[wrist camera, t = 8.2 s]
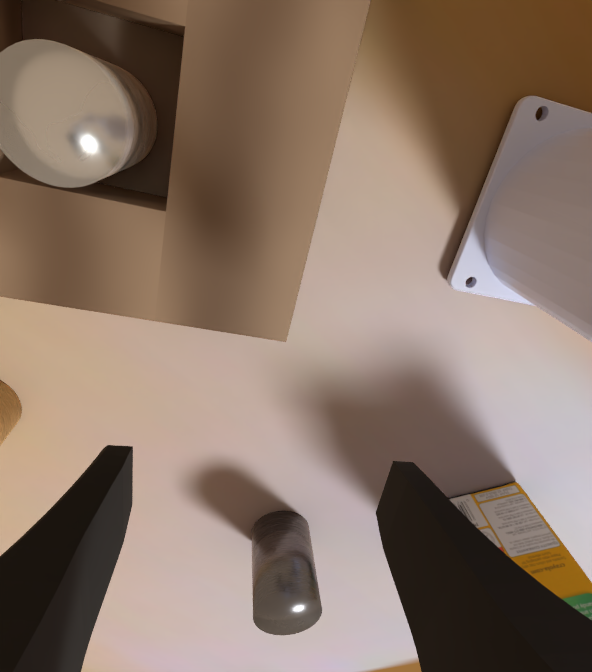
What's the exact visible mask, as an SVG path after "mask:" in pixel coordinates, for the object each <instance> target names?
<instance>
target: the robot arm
mask: <svg viewBox="0 0 592 672" xmlns="http://www.w3.org/2000/svg"><path fill="white" fill-rule="evenodd" d="M540 107H541V108H542V111H543V112H542V116H541V117H540V119H539V120H537V119H536V117H535V115H536V111H537V110H538V108H540ZM470 277H473V279H472V282H471V283H470V284H468V285H465V283H466V280H467V279H468V278H470ZM447 281H448V284H449V286H450V287H452V288H453V289H455V290H458V291H463V292H468V293H473V294H478V295H483V296H488V297H493V298H498V299H503V300H508V301H513V302H518V303H523V304H528V305H533V306H537V307H538V308H540V309H542V310H543V311H545V312H546V313H548V314H549V315H551V316H552V317H554V318H555V319H557V320H559V321H560V322H562V323H563V324H565V325H566V326H568V327H569V328H571V329H572V330H574V331H575V332H577V333H579V334H580V335H582V336H583V337H585V338H586V339H588V340H589V341H591V342H592V113H590V112H587V111H584V110H580V109H577V108H574V107H570V106H567V105H564V104H561V103H557V102H554V101H551V100H548V99H544V98H541V97H538V96H526V97H523V98H521V99H520V100H519V101H518V102H517V104H516V106H515V107H514V110H513V112H512V115H511V117H510V120H509V123H508V125H507V128H506V130H505V133H504V135H503V138H502V140H501V143H500V145H499V148H498V150H497V153H496V155H495V158H494V161H493V163H492V166H491V168H490V171H489V173H488V176H487V178H486V181H485V183H484V186H483V188H482V191H481V193H480V196H479V198H478V201H477V204H476V206H475V209H474V211H473V214H472V216H471V219H470V221H469V224H468V226H467V229H466V231H465V234H464V236H463V239H462V242H461V244H460V247H459V249H458V252H457V254H456V257H455V259H454V262H453V264H452V267H451V269H450V272H449V274H448V278H447ZM132 467H133V447H130V446H113V445H108V446H106V447H105V448H104V449H103V450H102V451H101V452H100V454H99V455H98V456H97V457H96V459H95V460H94V461H93V462H92V464H91V465H90V466H89V467H88V468H87V470H86V471H85V472H84V473H83V474H82V475H81V476H80V478H79V479H78V480H77V481H76V482H75V483H74V484H73V485H72V487H71V488H70V489H69V490H68V491H67V492H66V493H65V494H64V495H63V496H62V497H61V498H60V499H59V500H58V501H57V503H56V504H55V505H54V506H53V507H52V508H51V509H50V510H49V511H48V512H47V513H46V514H45V515H44V516H43V517H42V518H41V519H40V520H39V521H38V522H37V523H36V524H35V525H34V526H32V527H31V528H30V529H29V530H28V531H27V532H26V533H25V534H24V535H23V536H22V537H21V538H20V539H19V540H18V541H17V542H16V543H15V544H13V545H12V546H11V547H10V548H9V549H8V550H7V551H6V552H4V553H3V554H2V555H1V556H0V672H81V669H82V665H83V661H84V657H85V654H86V650H87V647H88V644H89V641H90V637H91V634H92V631H93V628H94V625H95V623H96V620H97V617H98V614H99V611H100V608H101V605H102V603H103V600H104V597H105V594H106V591H107V588H108V585H109V583H110V580H111V577H112V574H113V571H114V568H115V565H116V562H117V560H118V557H119V554H120V551H121V548H122V545H123V542H124V538H125V533H126V529H127V525H128V520H129V516H130V512H131V507H132ZM376 515H377V521H378V526H379V531H380V536H381V540H382V545H383V549H384V552H385V555H386V558H387V561H388V564H389V567H390V571H391V574H392V577H393V580H394V582H395V585H396V588H397V591H398V594H399V597H400V600H401V603H402V606H403V609H404V612H405V615H406V618H407V621H408V624H409V627H410V630H411V633H412V636H413V640H414V643H415V646H416V650H417V654H418V658H419V662H420V666H421V671H422V672H592V620H591V619H589V618H588V617H586V616H585V615H583V614H582V613H580V612H579V611H578V610H576V609H575V608H573V607H572V606H571V605H569V604H568V603H567V602H565V601H564V600H562V599H561V598H560V597H558V596H557V595H555V594H554V593H553V592H552V591H550V590H549V589H548V588H546V587H545V586H544V585H542V584H541V583H540V582H539V581H537V580H536V579H535V578H534V577H532V576H531V575H530V574H529V573H528V572H526V571H525V570H524V569H523V568H521V567H520V566H519V565H518V564H517V563H515V562H514V561H513V560H512V559H511V558H510V557H508V556H507V555H506V554H505V553H504V552H503V551H502V550H500V549H499V548H498V547H497V546H496V545H495V544H494V543H493V542H492V541H491V540H490V539H489V538H487V537H486V536H485V535H484V534H483V533H482V532H481V531H480V530H479V529H478V528H477V527H476V526H475V525H474V524H473V523H472V522H471V521H470V520H469V519H468V518H467V517H466V516H465V515H464V514H463V513H462V512H461V511H460V510H459V509H458V508H457V507H456V506H455V505H454V504H453V503H452V502H451V501H450V500H449V499H448V498H447V497H446V496H445V495H444V494H443V493H442V492H441V491H440V490H439V488H438V487H437V486H436V485H435V484H434V483H433V482H432V481H431V480H430V479H429V478H428V477H427V476H426V475H425V474H424V473H423V472H422V471H421V470H420V469H419V468H418V467H417V466H416V465H415V464H414V463H413V462H397V461H393V464H392V466H391V469H390V472H389V475H388V478H387V481H386V484H385V487H384V490H383V493H382V496H381V499H380V502H379V505H378V508H377V511H376Z"/></svg>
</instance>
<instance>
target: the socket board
mask: <svg viewBox="0 0 592 672" xmlns="http://www.w3.org/2000/svg"><path fill="white" fill-rule="evenodd" d="M57 1H61V2H64V3H68V4H71V5H75V6H78V7H82V8H85V9H89V10H92V11H96V12H99V13H103V14H106V15H110V16H113V17H117V18H120V19H124V20H127V21H131V22H134V23H138V24H141V25H145V26H148V27H152V28H155V29H159V30H162V31H166V32H169V33H173V34H176V35H180V36H183V37H184V43H183V53H182V62H181V72H180V82H179V91H178V101H177V111H176V120H175V130H174V140H173V149H172V159H171V168H170V178H169V188H168V197H167V198H166V197H161V196H156V195H152V194H147V193H142V192H138V191H133V190H128V189H124V188H119V187H114V186H110V185H105V184H100V183H96V182H94V183H92V184H89V185H86V186H82V187H75V188H65V187H57V186H53V185H49V184H46V183H44V182H41V181H39V180H37V179H35V178H33V177H31V176H29V175H28V174H26V173H25V172H23V171H22V170H21V169H19V168H18V167H17V166H16V165H15V164H14V163H13V162H12V161H11V160H10V159H8V157H7V156H6V155H5V154H4V153H3V151H2V150H1V149H0V296H1V297H7V298H13V299H19V300H26V301H32V302H38V303H45V304H51V305H57V306H63V307H70V308H76V309H82V310H89V311H95V312H101V313H107V314H114V315H120V316H126V317H133V318H139V319H145V320H151V321H158V322H164V323H170V324H177V325H183V326H189V327H195V328H202V329H208V330H214V331H221V332H227V333H233V334H239V335H246V336H252V337H258V338H265V339H271V340H277V341H283V342H286V340H287V336H288V332H289V328H290V324H291V320H292V316H293V312H294V308H295V304H296V300H297V296H298V292H299V288H300V284H301V280H302V276H303V272H304V268H305V264H306V260H307V256H308V252H309V248H310V243H311V239H312V235H313V231H314V227H315V223H316V219H317V215H318V211H319V207H320V203H321V199H322V195H323V191H324V187H325V183H326V179H327V175H328V171H329V167H330V163H331V159H332V155H333V151H334V147H335V143H336V139H337V135H338V131H339V127H340V123H341V119H342V115H343V111H344V106H345V102H346V98H347V94H348V90H349V86H350V82H351V78H352V74H353V70H354V66H355V62H356V58H357V54H358V50H359V46H360V42H361V38H362V34H363V30H364V26H365V22H366V18H367V14H368V10H369V6H370V2H371V0H57ZM21 41H22V11H21V0H0V52H2V51H3V50H4V49H6V48H7V47H9V46H11V45H13V44H15V43H18V42H21Z"/></svg>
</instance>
